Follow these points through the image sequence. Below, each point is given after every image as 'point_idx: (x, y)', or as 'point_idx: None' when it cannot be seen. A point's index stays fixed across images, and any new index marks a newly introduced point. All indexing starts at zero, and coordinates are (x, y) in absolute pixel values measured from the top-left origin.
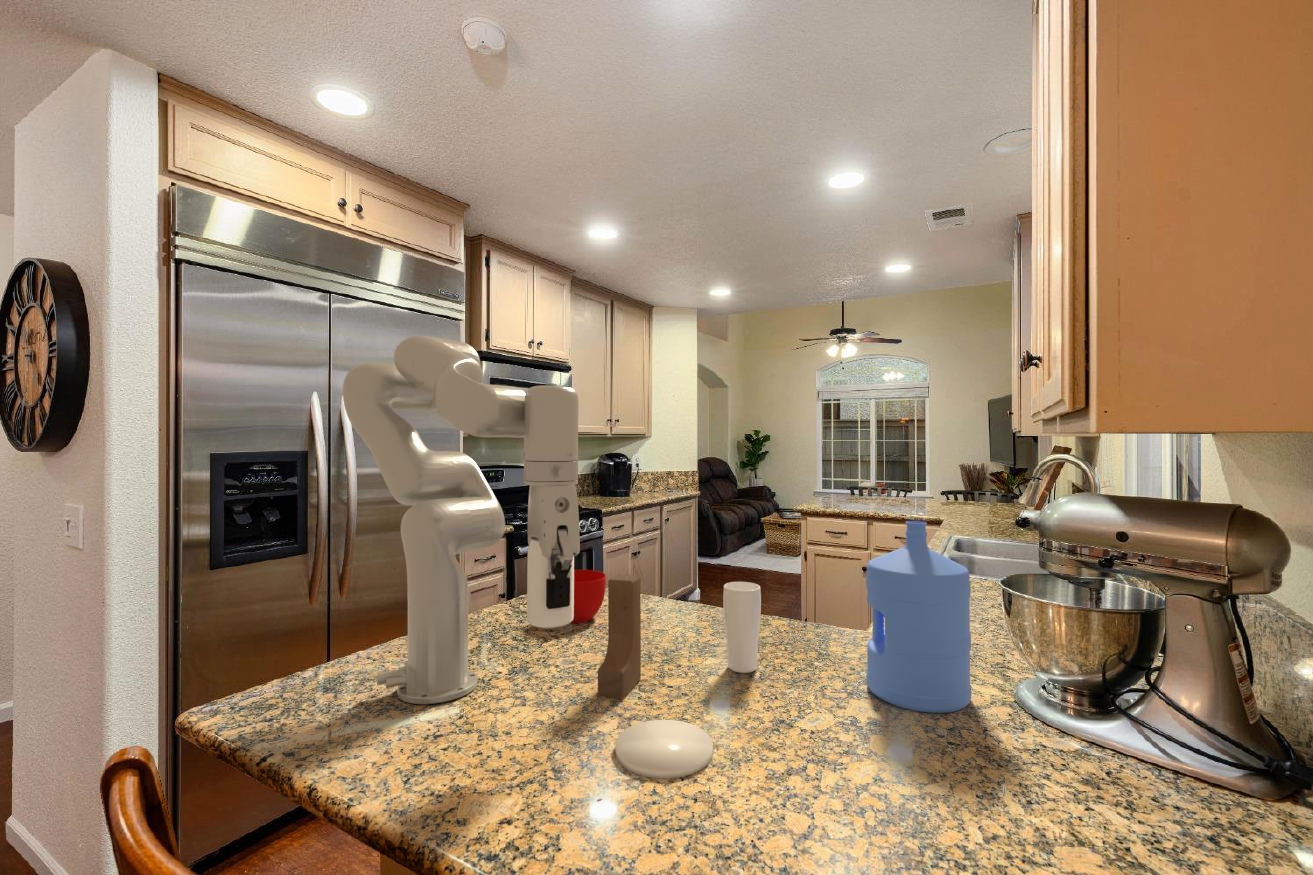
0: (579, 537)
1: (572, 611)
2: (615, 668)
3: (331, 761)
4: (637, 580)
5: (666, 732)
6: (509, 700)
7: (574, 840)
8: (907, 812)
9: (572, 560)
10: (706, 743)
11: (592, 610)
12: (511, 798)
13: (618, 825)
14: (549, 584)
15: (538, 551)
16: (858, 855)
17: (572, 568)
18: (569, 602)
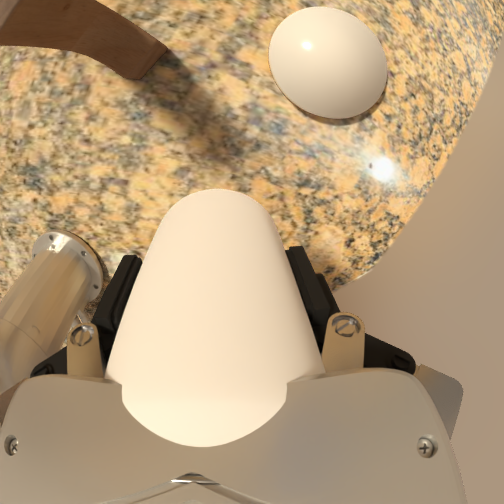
0: (446, 448)
1: (257, 209)
2: (139, 49)
3: None
4: None
5: (311, 43)
6: (108, 197)
7: (397, 204)
8: (472, 6)
9: (448, 376)
10: (357, 25)
11: None
12: (324, 232)
13: (404, 168)
14: None
15: None
16: (486, 65)
17: (289, 309)
18: (304, 250)
